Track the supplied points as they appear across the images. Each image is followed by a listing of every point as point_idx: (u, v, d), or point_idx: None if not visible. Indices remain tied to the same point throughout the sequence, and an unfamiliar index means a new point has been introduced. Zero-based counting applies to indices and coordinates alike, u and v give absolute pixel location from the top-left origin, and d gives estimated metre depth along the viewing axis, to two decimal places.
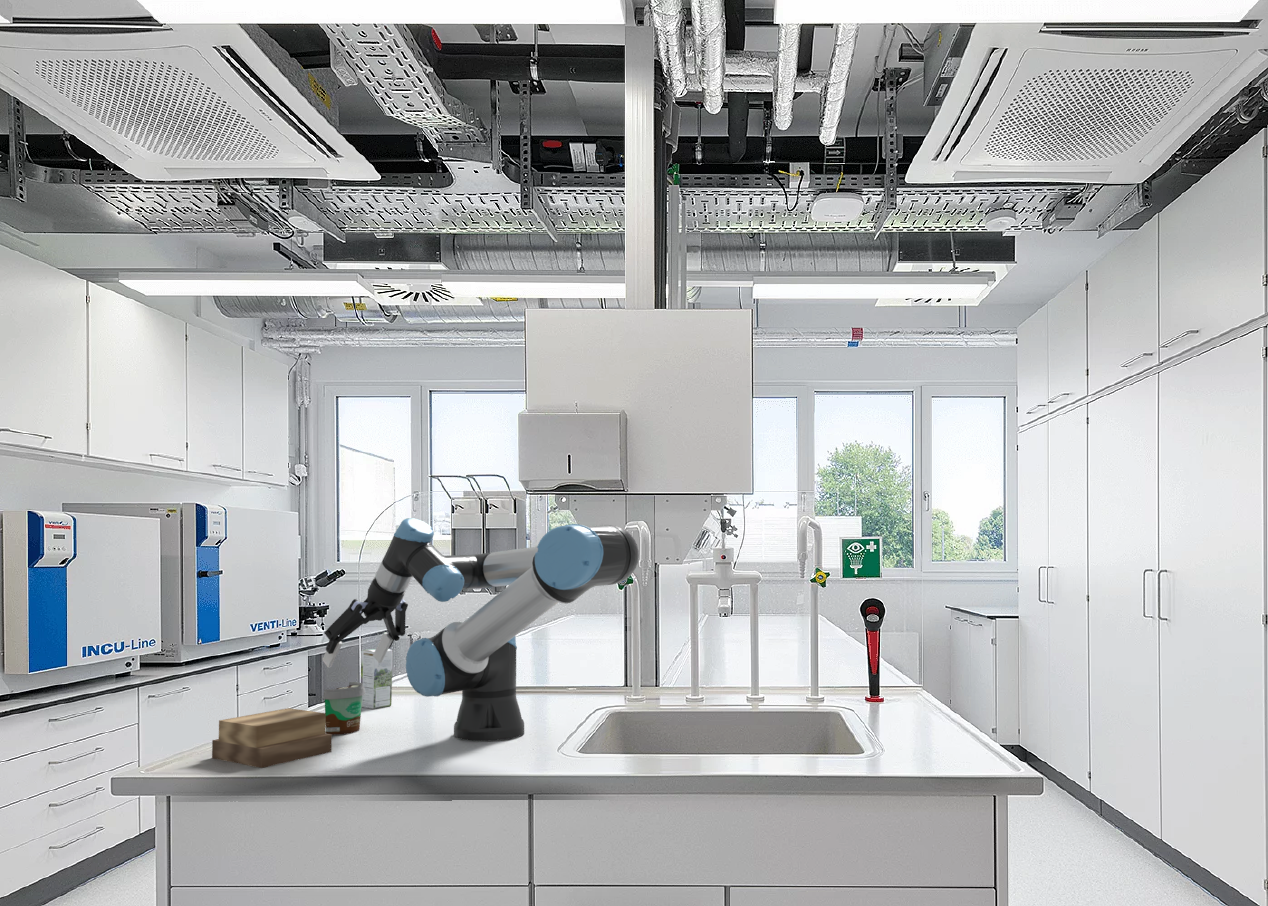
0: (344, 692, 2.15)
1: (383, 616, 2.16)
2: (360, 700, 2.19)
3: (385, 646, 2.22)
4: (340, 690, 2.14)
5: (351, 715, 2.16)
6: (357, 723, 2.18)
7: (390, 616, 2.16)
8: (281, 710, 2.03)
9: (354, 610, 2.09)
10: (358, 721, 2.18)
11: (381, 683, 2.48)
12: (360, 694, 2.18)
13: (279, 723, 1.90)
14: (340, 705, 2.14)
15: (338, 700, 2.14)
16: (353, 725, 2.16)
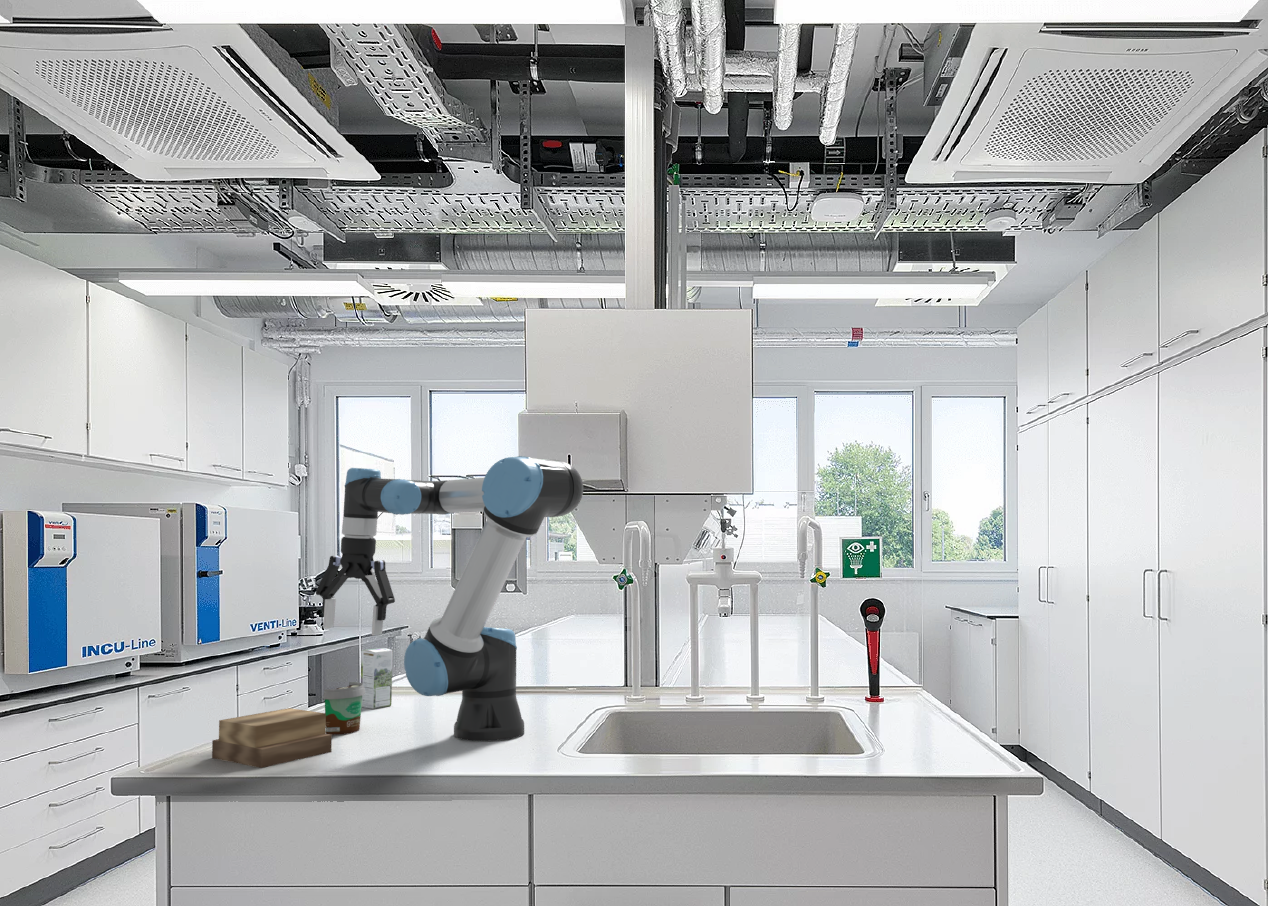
0: (344, 692, 2.15)
1: None
2: (360, 700, 2.19)
3: None
4: (340, 690, 2.14)
5: (351, 715, 2.16)
6: (357, 723, 2.18)
7: (361, 572, 2.17)
8: (282, 710, 2.03)
9: None
10: (358, 721, 2.18)
11: (381, 683, 2.48)
12: (360, 694, 2.18)
13: (279, 723, 1.90)
14: (340, 705, 2.14)
15: (338, 700, 2.14)
16: (353, 725, 2.16)
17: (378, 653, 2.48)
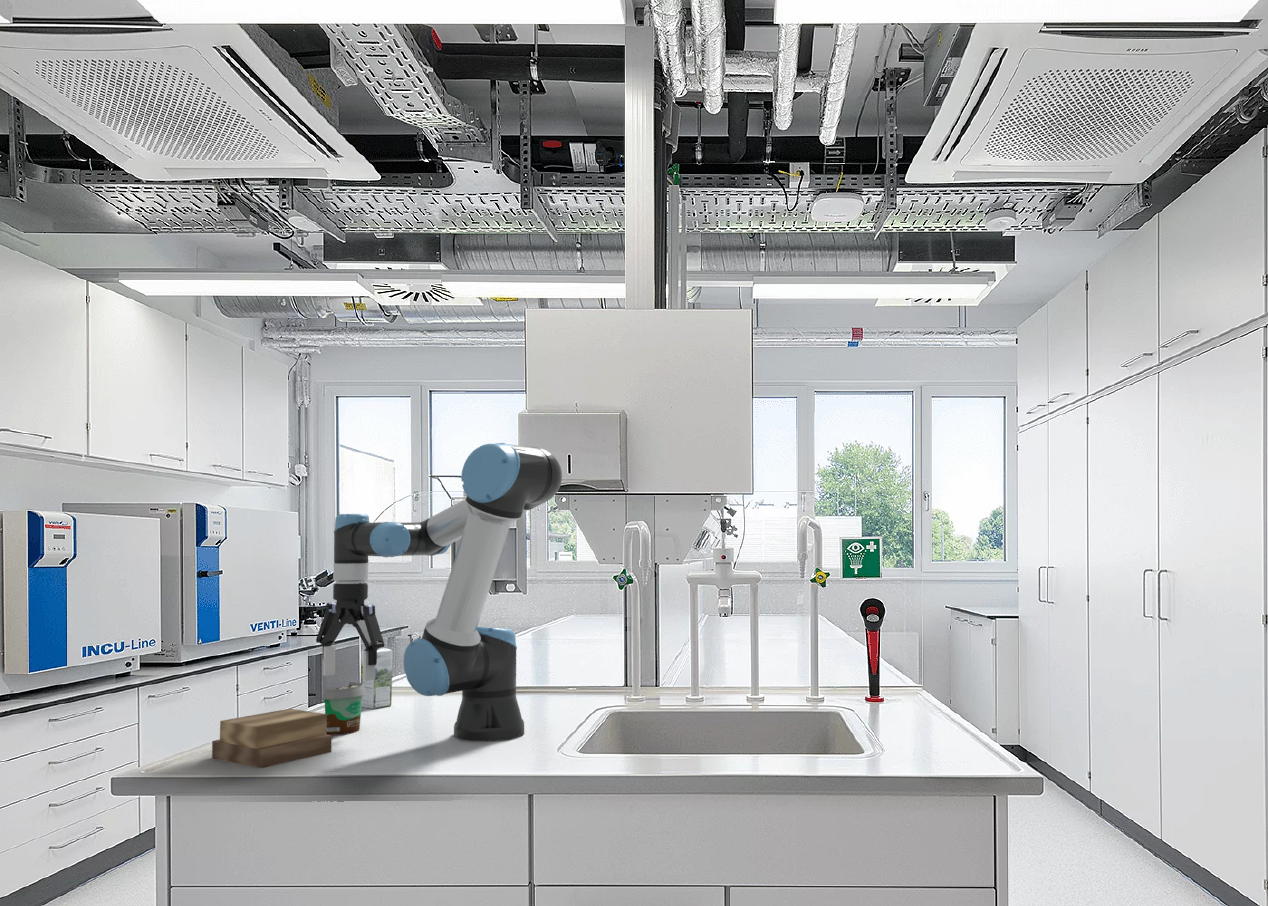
0: (344, 692, 2.15)
1: None
2: (360, 700, 2.19)
3: None
4: (340, 690, 2.14)
5: (351, 715, 2.16)
6: (357, 723, 2.18)
7: (352, 618, 2.17)
8: (283, 711, 2.03)
9: None
10: (358, 721, 2.18)
11: (381, 683, 2.48)
12: (360, 694, 2.18)
13: (280, 724, 1.90)
14: (340, 705, 2.14)
15: (338, 700, 2.14)
16: (353, 725, 2.16)
17: (378, 653, 2.48)
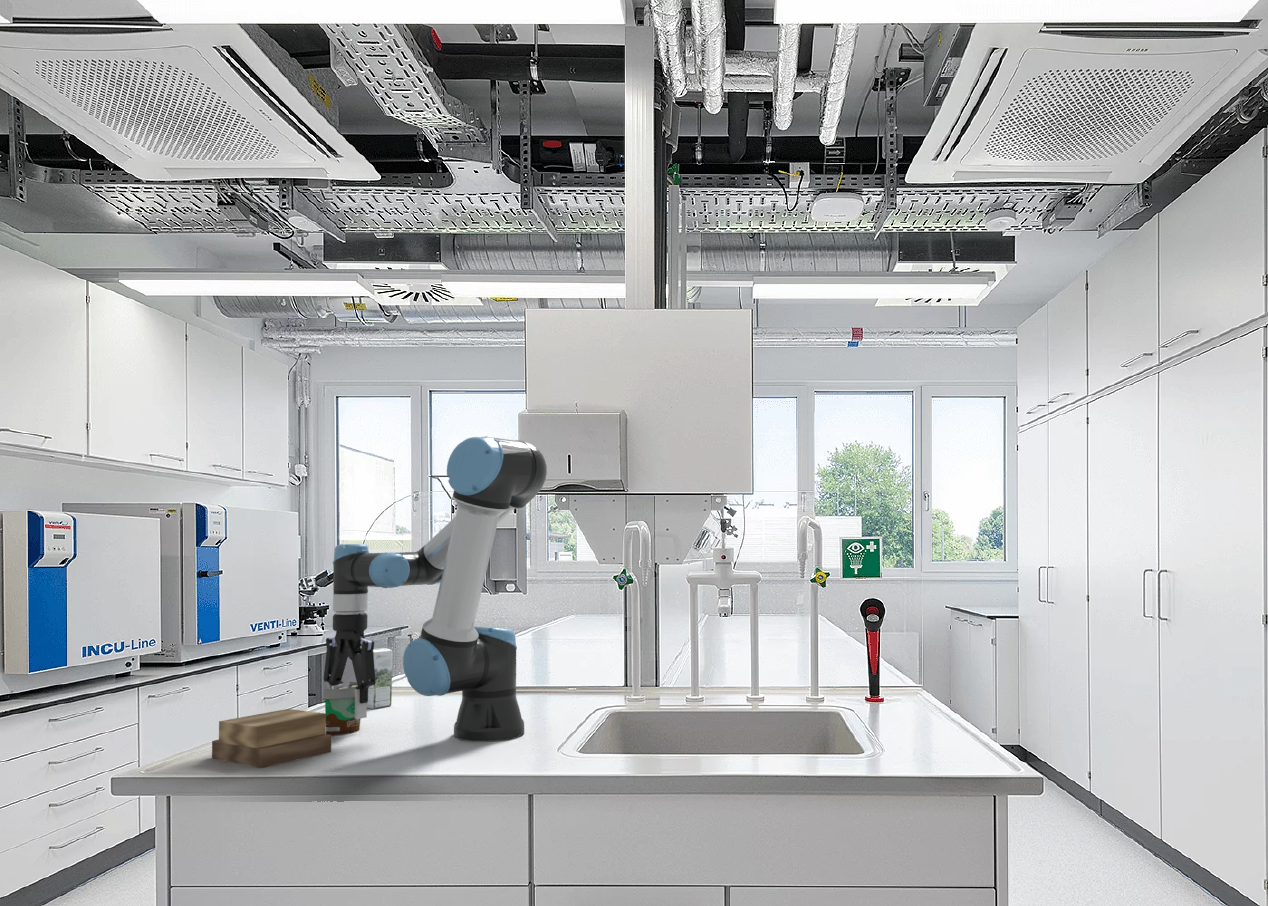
0: (344, 692, 2.15)
1: None
2: None
3: None
4: (340, 690, 2.14)
5: (351, 715, 2.16)
6: (357, 723, 2.18)
7: (350, 650, 2.17)
8: (281, 711, 2.03)
9: None
10: (358, 721, 2.18)
11: (381, 683, 2.48)
12: None
13: (279, 723, 1.90)
14: (341, 705, 2.14)
15: (338, 700, 2.14)
16: (353, 725, 2.16)
17: (378, 653, 2.48)
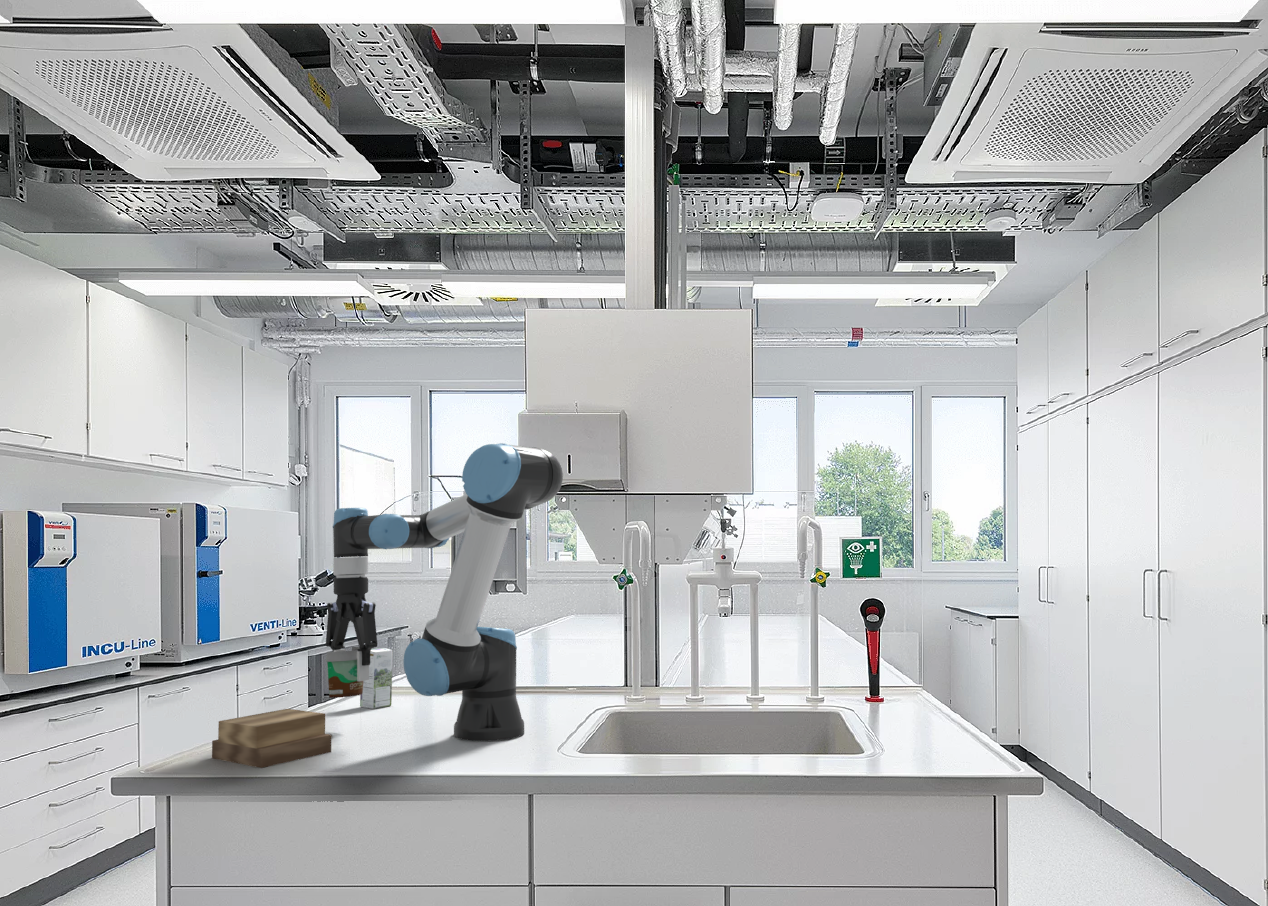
0: (347, 654, 2.15)
1: None
2: None
3: None
4: (343, 652, 2.15)
5: (354, 678, 2.16)
6: (360, 686, 2.18)
7: (351, 613, 2.18)
8: (280, 711, 2.03)
9: None
10: (361, 684, 2.18)
11: (381, 683, 2.48)
12: None
13: (279, 724, 1.90)
14: (343, 668, 2.15)
15: (341, 662, 2.15)
16: (356, 688, 2.17)
17: (378, 653, 2.48)
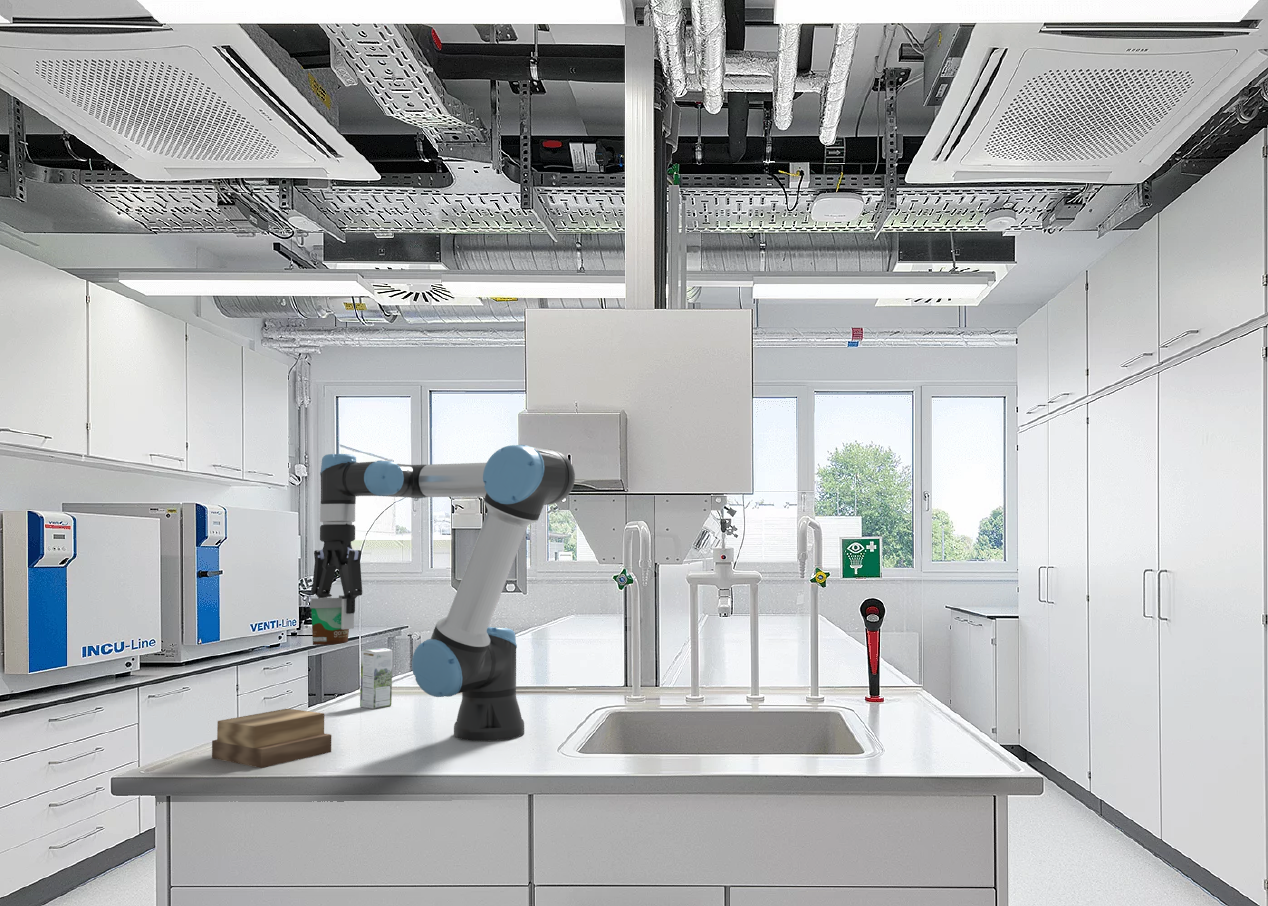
0: (331, 602, 2.12)
1: None
2: None
3: None
4: (327, 599, 2.12)
5: (338, 626, 2.13)
6: (345, 634, 2.15)
7: (337, 560, 2.14)
8: (280, 710, 2.03)
9: None
10: (346, 633, 2.15)
11: (381, 683, 2.48)
12: None
13: (277, 723, 1.90)
14: (327, 615, 2.12)
15: (325, 609, 2.11)
16: (340, 636, 2.14)
17: (378, 653, 2.48)
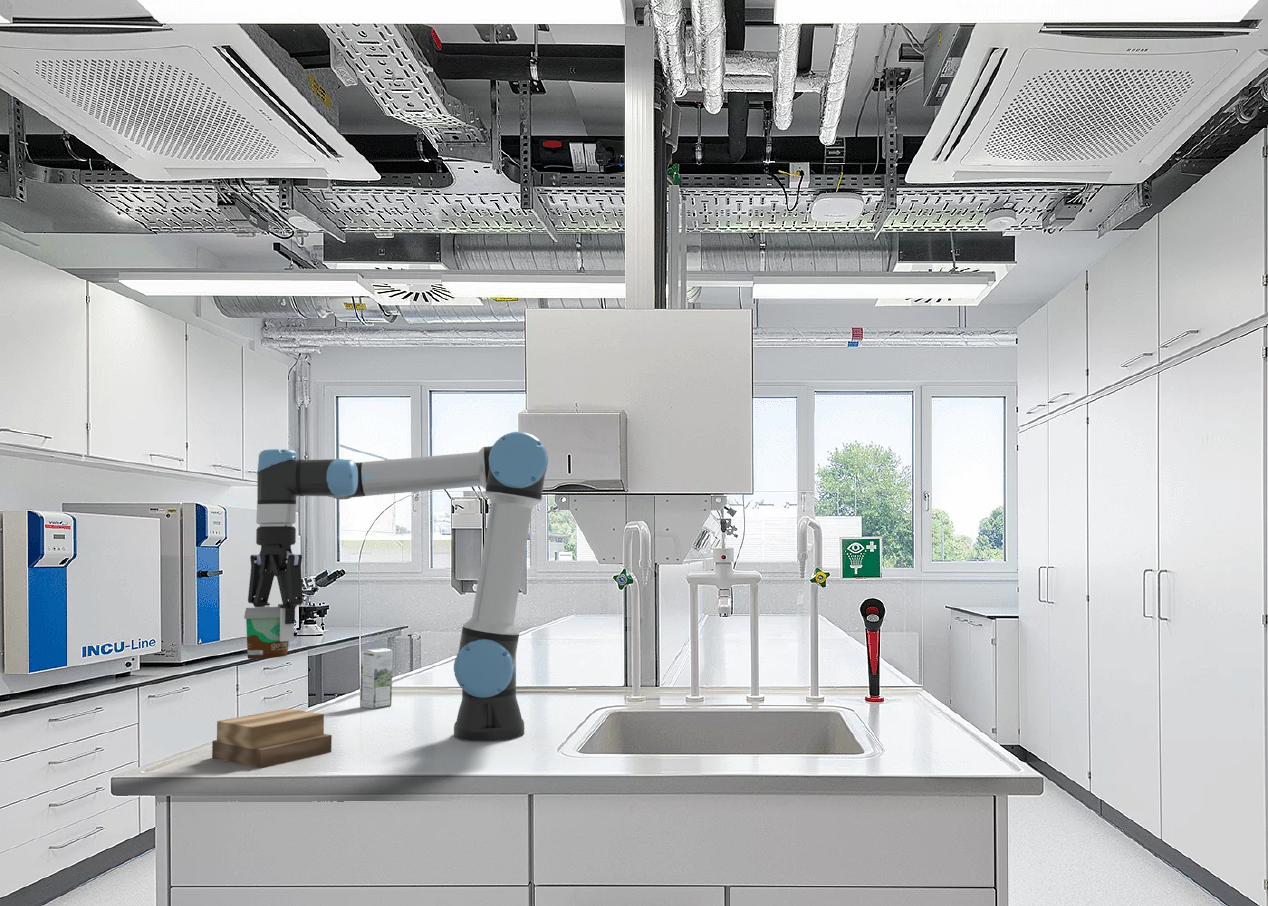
0: (268, 611, 1.93)
1: None
2: None
3: None
4: (263, 609, 1.93)
5: (277, 638, 1.95)
6: (284, 647, 1.96)
7: (275, 566, 1.95)
8: (280, 711, 2.03)
9: None
10: (285, 645, 1.97)
11: (381, 683, 2.48)
12: None
13: (276, 724, 1.89)
14: (264, 626, 1.93)
15: (261, 620, 1.93)
16: (279, 649, 1.95)
17: (378, 653, 2.48)
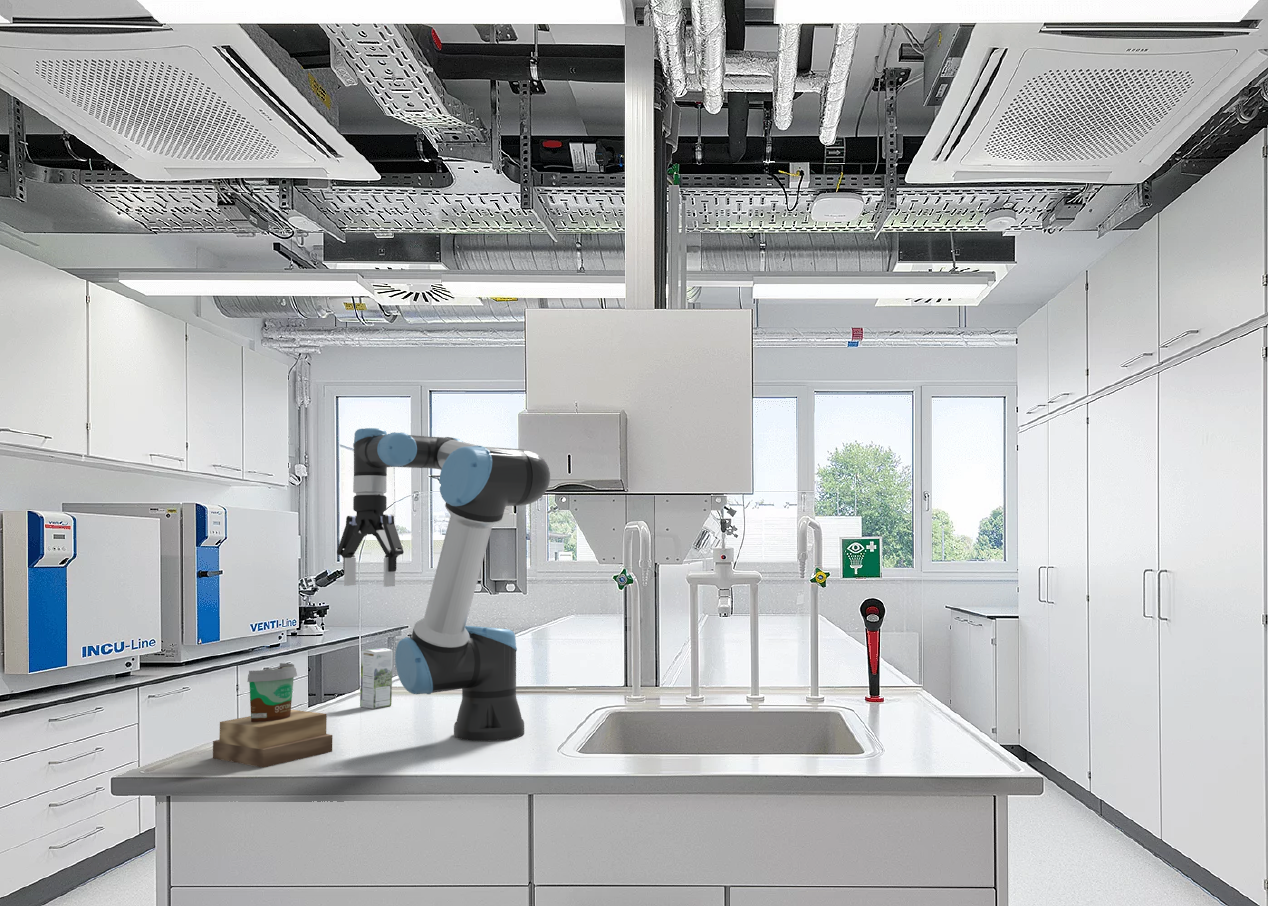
0: (271, 674, 1.92)
1: None
2: (291, 683, 1.96)
3: None
4: (267, 671, 1.92)
5: (280, 700, 1.93)
6: (287, 708, 1.95)
7: (372, 527, 2.26)
8: None
9: None
10: (288, 706, 1.95)
11: (381, 683, 2.48)
12: (290, 676, 1.95)
13: (281, 724, 1.90)
14: (267, 688, 1.92)
15: (265, 683, 1.91)
16: (282, 711, 1.94)
17: (378, 653, 2.48)
